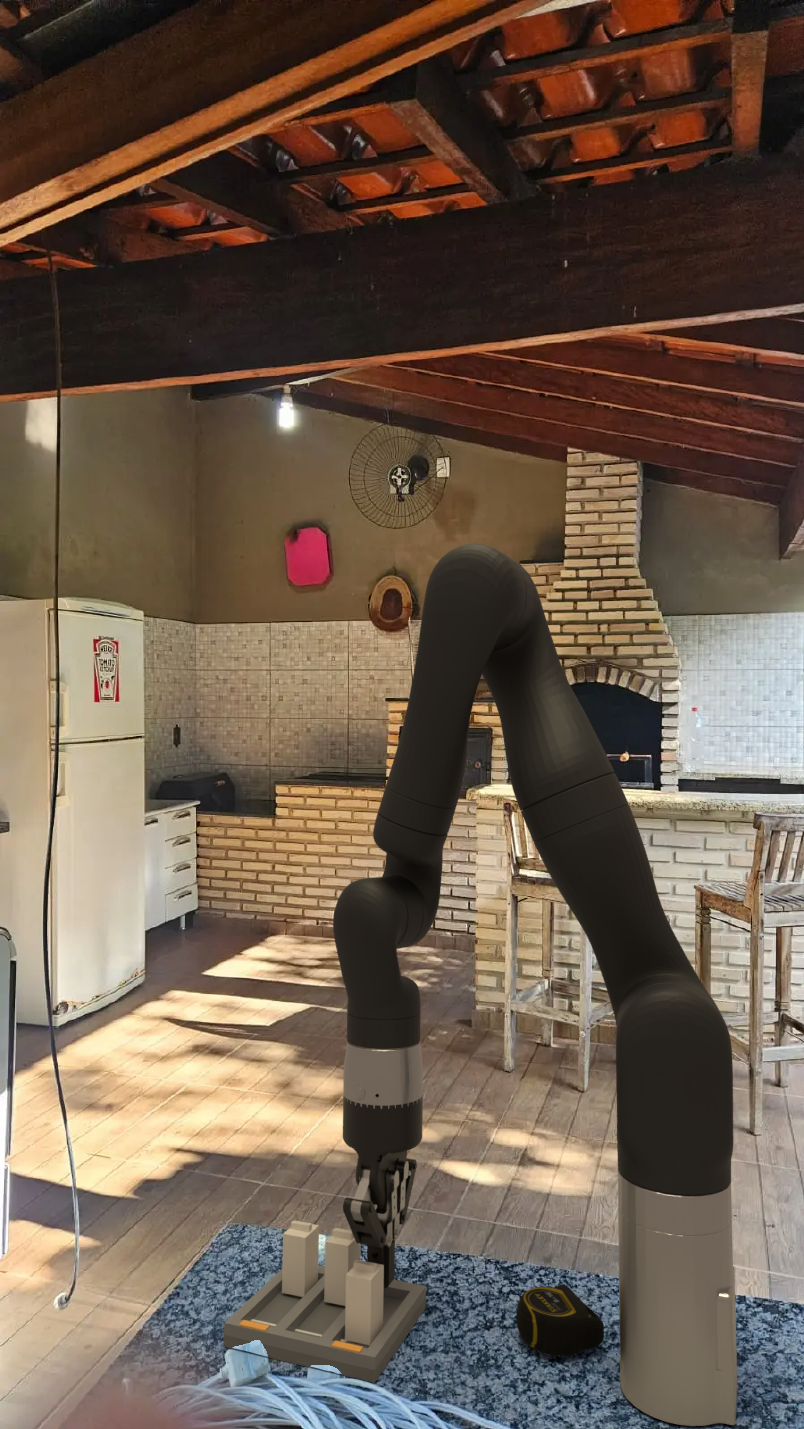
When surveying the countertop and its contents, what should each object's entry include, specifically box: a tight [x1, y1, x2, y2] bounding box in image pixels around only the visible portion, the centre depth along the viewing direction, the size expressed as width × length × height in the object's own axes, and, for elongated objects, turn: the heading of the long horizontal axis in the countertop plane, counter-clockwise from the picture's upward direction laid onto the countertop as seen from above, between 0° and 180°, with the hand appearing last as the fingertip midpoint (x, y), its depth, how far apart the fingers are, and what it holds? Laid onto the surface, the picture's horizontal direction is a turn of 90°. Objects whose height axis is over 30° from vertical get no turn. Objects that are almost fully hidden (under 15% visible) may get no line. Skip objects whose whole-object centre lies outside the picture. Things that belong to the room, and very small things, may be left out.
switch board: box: [223, 1264, 427, 1384], centre depth 88 cm, size 14×13×2 cm
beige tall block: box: [345, 1260, 384, 1345], centre depth 85 cm, size 2×3×6 cm
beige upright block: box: [324, 1227, 362, 1306], centre depth 92 cm, size 2×3×6 cm
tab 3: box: [281, 1220, 320, 1297], centre depth 93 cm, size 2×3×6 cm
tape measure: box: [515, 1284, 605, 1357], centre depth 86 cm, size 7×7×4 cm
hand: (380, 1282), depth 88 cm, fingers closed
